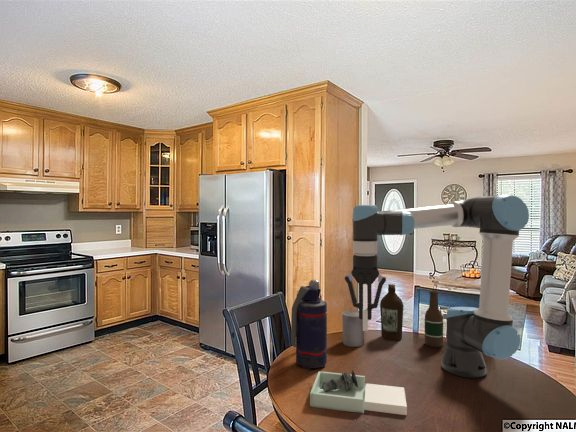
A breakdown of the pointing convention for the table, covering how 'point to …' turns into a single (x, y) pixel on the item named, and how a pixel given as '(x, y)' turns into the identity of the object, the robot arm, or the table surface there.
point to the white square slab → (385, 399)
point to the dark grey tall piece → (341, 382)
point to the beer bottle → (433, 322)
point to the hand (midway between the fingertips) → (365, 329)
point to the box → (338, 394)
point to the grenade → (309, 328)
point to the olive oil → (391, 315)
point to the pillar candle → (352, 329)
